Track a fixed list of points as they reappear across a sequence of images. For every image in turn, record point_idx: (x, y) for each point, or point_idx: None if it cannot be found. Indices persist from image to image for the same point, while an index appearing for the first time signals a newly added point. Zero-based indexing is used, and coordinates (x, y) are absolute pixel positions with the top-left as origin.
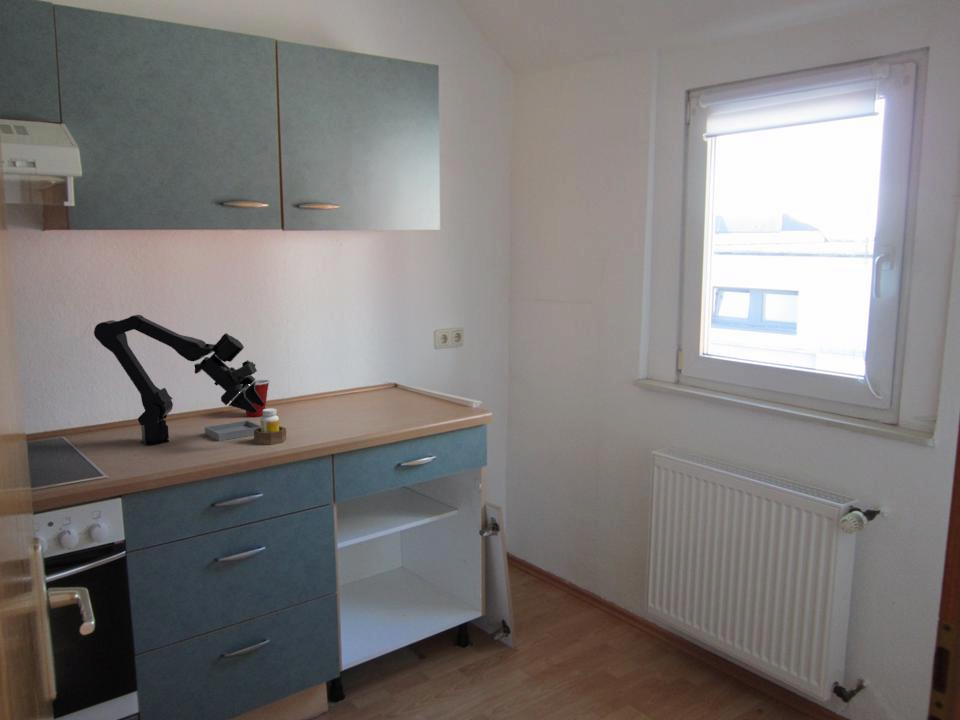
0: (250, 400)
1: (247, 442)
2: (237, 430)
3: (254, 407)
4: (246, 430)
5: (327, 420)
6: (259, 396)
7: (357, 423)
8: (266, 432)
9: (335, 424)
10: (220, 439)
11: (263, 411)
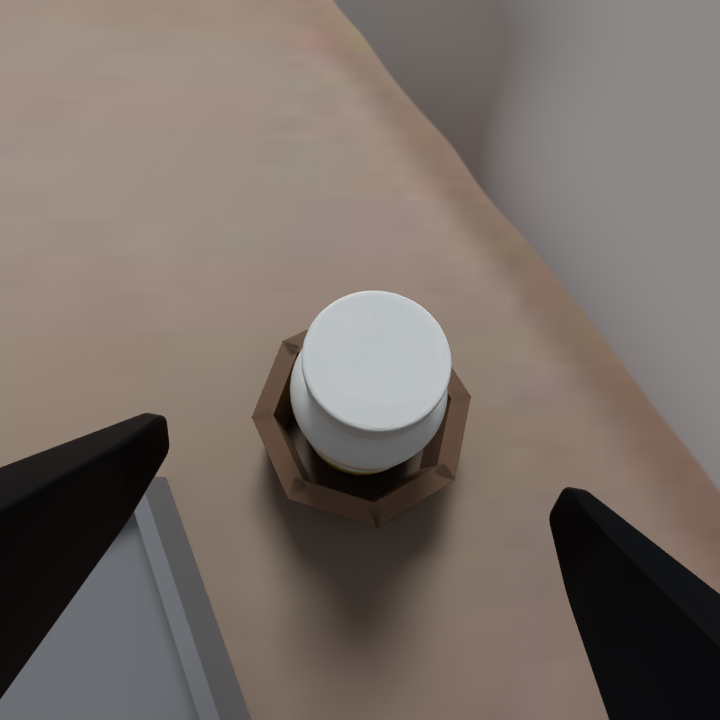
0: (12, 671)
1: (369, 567)
2: (203, 690)
3: (622, 528)
4: (186, 603)
5: (2, 154)
6: (3, 479)
7: (133, 62)
8: (449, 427)
9: (110, 130)
10: None
11: (421, 420)
